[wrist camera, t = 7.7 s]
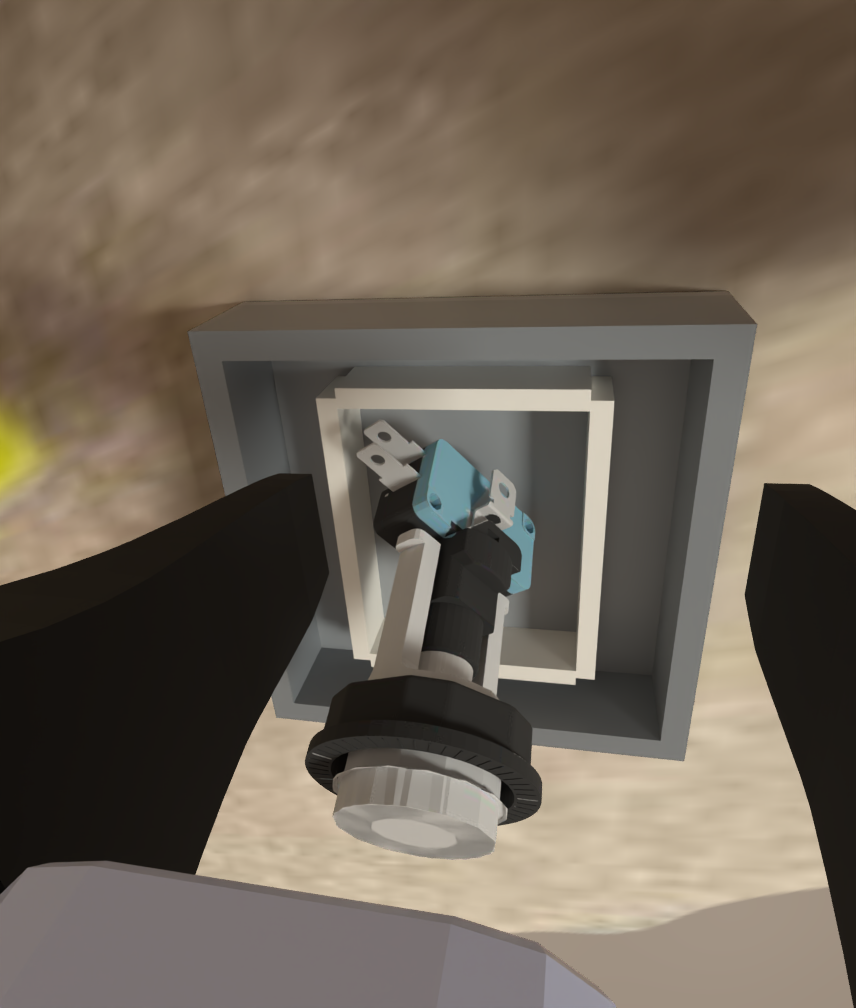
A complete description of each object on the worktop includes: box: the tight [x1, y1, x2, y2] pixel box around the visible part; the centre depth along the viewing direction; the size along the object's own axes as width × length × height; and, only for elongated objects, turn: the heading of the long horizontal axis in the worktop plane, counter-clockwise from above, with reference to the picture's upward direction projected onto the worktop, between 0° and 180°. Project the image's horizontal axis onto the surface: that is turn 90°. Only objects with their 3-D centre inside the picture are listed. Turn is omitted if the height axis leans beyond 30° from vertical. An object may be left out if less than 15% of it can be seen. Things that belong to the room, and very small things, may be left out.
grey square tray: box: [188, 291, 757, 761], centre depth 21 cm, size 14×14×4 cm
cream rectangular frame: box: [316, 366, 614, 685], centre depth 22 cm, size 8×10×2 cm
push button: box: [305, 420, 542, 860], centre depth 18 cm, size 7×5×10 cm
